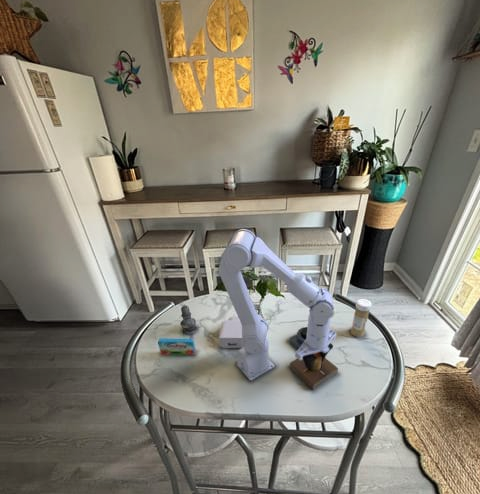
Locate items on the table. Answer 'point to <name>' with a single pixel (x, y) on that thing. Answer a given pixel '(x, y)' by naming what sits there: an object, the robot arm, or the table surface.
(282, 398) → the table surface
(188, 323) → the grey stone statuette
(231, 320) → the charger
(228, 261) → the robot arm
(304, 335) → the button
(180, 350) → the blue printed cardboard box
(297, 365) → the brown square block
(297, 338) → the button box
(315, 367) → the dial
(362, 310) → the sprinkles bottle
